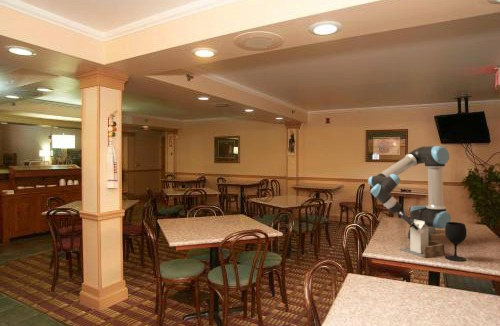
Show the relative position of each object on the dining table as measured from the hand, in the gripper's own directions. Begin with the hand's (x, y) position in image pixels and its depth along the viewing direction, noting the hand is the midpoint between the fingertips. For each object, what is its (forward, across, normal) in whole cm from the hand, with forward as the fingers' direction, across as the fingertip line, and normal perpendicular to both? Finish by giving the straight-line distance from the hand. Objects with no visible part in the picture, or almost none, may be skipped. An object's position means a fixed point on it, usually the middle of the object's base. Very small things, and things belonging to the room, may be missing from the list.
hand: (419, 230), depth 197 cm
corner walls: (+10, -1, -9) cm, 13 cm away
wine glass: (+21, +9, +3) cm, 23 cm away
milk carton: (+9, 0, -9) cm, 13 cm away
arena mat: (+9, -1, -9) cm, 13 cm away
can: (+21, -56, +2) cm, 60 cm away
